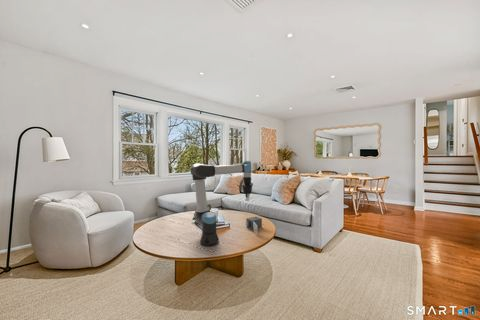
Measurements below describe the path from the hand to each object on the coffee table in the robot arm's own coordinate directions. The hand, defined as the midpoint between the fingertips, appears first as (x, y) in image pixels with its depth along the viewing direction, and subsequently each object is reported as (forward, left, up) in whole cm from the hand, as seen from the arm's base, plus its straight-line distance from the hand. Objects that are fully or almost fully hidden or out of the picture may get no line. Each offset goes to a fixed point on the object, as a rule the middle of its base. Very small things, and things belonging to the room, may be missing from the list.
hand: (247, 200), depth 206 cm
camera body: (+3, -5, -26) cm, 27 cm away
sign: (-27, +42, -27) cm, 57 cm away
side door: (-4, -15, -26) cm, 31 cm away
